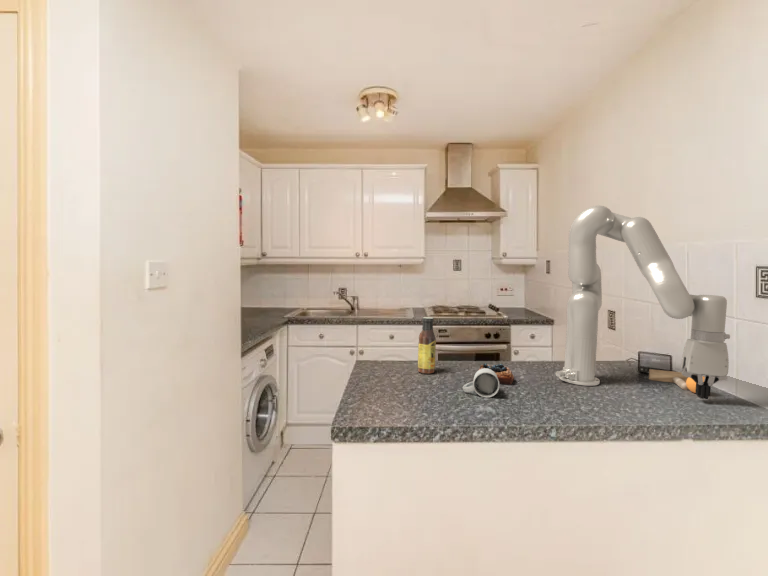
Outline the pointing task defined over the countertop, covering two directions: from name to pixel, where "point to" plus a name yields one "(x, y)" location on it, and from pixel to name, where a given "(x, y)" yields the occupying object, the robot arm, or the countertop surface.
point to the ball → (692, 384)
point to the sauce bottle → (426, 347)
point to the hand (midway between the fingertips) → (702, 397)
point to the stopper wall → (665, 375)
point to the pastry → (501, 373)
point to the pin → (680, 383)
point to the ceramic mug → (484, 383)
